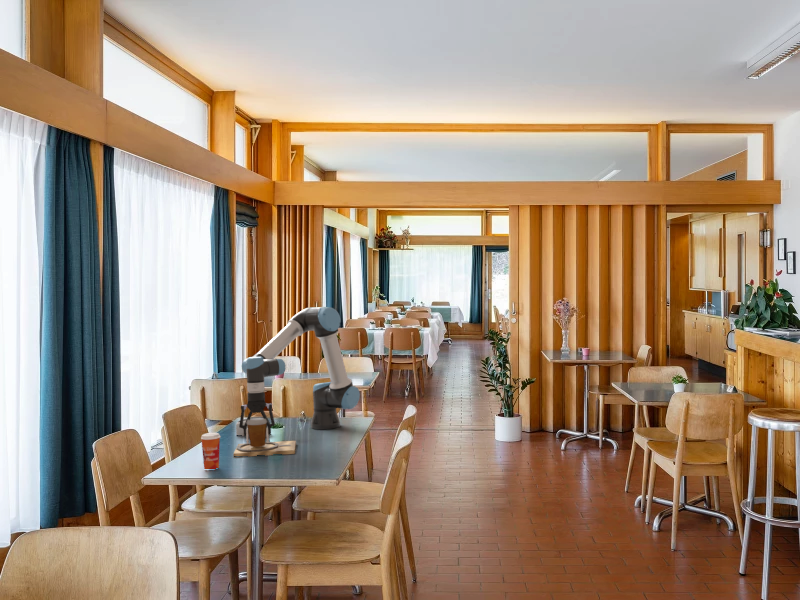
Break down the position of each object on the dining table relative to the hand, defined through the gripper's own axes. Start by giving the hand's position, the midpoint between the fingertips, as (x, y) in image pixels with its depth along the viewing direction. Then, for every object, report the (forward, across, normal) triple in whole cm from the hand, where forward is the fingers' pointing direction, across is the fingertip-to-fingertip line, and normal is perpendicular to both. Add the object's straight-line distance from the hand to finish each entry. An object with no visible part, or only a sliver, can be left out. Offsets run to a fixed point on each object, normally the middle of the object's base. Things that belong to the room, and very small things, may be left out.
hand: (257, 442), depth 310 cm
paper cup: (+4, -16, -29) cm, 33 cm away
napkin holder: (+4, -5, +36) cm, 37 cm away
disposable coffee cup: (+1, 0, 0) cm, 1 cm away
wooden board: (+4, +3, 0) cm, 5 cm away
